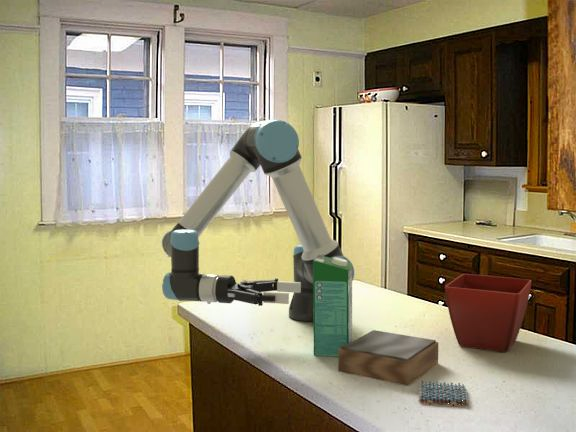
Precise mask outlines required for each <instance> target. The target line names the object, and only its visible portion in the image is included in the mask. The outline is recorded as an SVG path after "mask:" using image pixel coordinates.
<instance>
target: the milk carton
mask: <svg viewBox="0 0 576 432" xmlns="http://www.w3.org/2000/svg"><path fill="white" fill-rule="evenodd" d="M347 262H348V261H347V260H345V259H342V258H338V257H333V258H329V257H325V256H322V255H318V256H317V257H316V258H315V259H314V260H313V321H312V322H313V356H321V357H337V358H338V349H339V348H341V347H342V346H344V345H346V344H348V343H350V342H351V341H353V281H352V265H353V263H352V262H351V263H352V264H351V263H347Z"/></svg>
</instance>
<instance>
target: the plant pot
mask: <svg viewBox="0 0 576 432" xmlns="http://www.w3.org/2000/svg"><path fill="white" fill-rule="evenodd" d="M531 287H532V280H531V279H525V278H518V277H517V278H516V277H515V278H514V277H506V276H505V277H504V276H494V275H486V274H485V275H484V274H483V275H481V274H471V273H462V274H460V275H459V276H457V277H456V278H454V279H453V280H452V281H450V282H448V283H447V284H445V285H444V289H445V298H446V304H447V309H448V314H449V317H450V318H449V319H450V322H451V326H452V329H453V332H454V334H455V335H454V336H455V338H456V341H457V343H458V345H459V346H460V347H465V348H472V349H479V350H486V351H494V352H499V353H500V352H501V353H507V352H509V351H510V349H511V347H512V346H513V345H514V344H515V342H516V340H517V339H518V335H519V333H520V330H521V328H522V327H521V326H522V325H523V324H522V323H523V321H524V318H525V314H526V310H527V308H528V307H527V306H528V303H529V298H530V293H531Z"/></svg>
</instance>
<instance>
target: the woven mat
mask: <svg viewBox="0 0 576 432" xmlns="http://www.w3.org/2000/svg"><path fill="white" fill-rule="evenodd" d="M457 384H458V385H457ZM418 388H419V390H418V392H419V394H418V398H419V399H418V401H419V402H420V403H419V404H420V405H430V406H431V405H433V406H435V405H436V406H446V405H448V406H447V407H451V406H452V407H461V406H464V407H463V408H465V407H466V408H470V405H469V404H470V402H469V401H470V399H469V398H468V396H469V395H468V392H467V388H466V385H464V384H461V383H460V382H458V383H454V384H453V382H450V383H447V384H446V382H445V381H444V382H443V384H442V383H439V382H438V381H436V382H431V381H428V383H427V381H426V382H425V383H424V381H423V380H421V383H419V386H418ZM462 400H463V401H462ZM448 403H449V404H448ZM462 404H463V405H462ZM466 404H467V405H466ZM449 405H450V406H449Z"/></svg>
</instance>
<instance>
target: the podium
mask: <svg viewBox="0 0 576 432" xmlns="http://www.w3.org/2000/svg"><path fill="white" fill-rule="evenodd" d="M337 358H338V359H337V360H338V368H337V370H338V372H340V373H345V374H350V375H355V376H360V377H364V378H369V379H373V380H379V381H385V382H388V383H391V384H393V383H394V384H399V385H402V386H410V385H411V384H412V383H414V382H415V381H417V380H418V379H419V378H420V377H422V376H424V375H425V374H426V373H427V372H428V371H430V370H431V369H433V368H434V367H435V366H437V365H438V364H439V341H437V340H436V339H430V338H424V337H418V336H417V337H416V336H412V335H405V334H400V333H393V332H387V331H382V330H375V329H374V330H371V331H369V332H368V333H365V334H363V335H361V336H359V337H358V338H356V339H354V340H353V339H352V341H351V342H350V343H348V344H346V345H344V346H342V347H341V348H339V349H338V357H337Z"/></svg>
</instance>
